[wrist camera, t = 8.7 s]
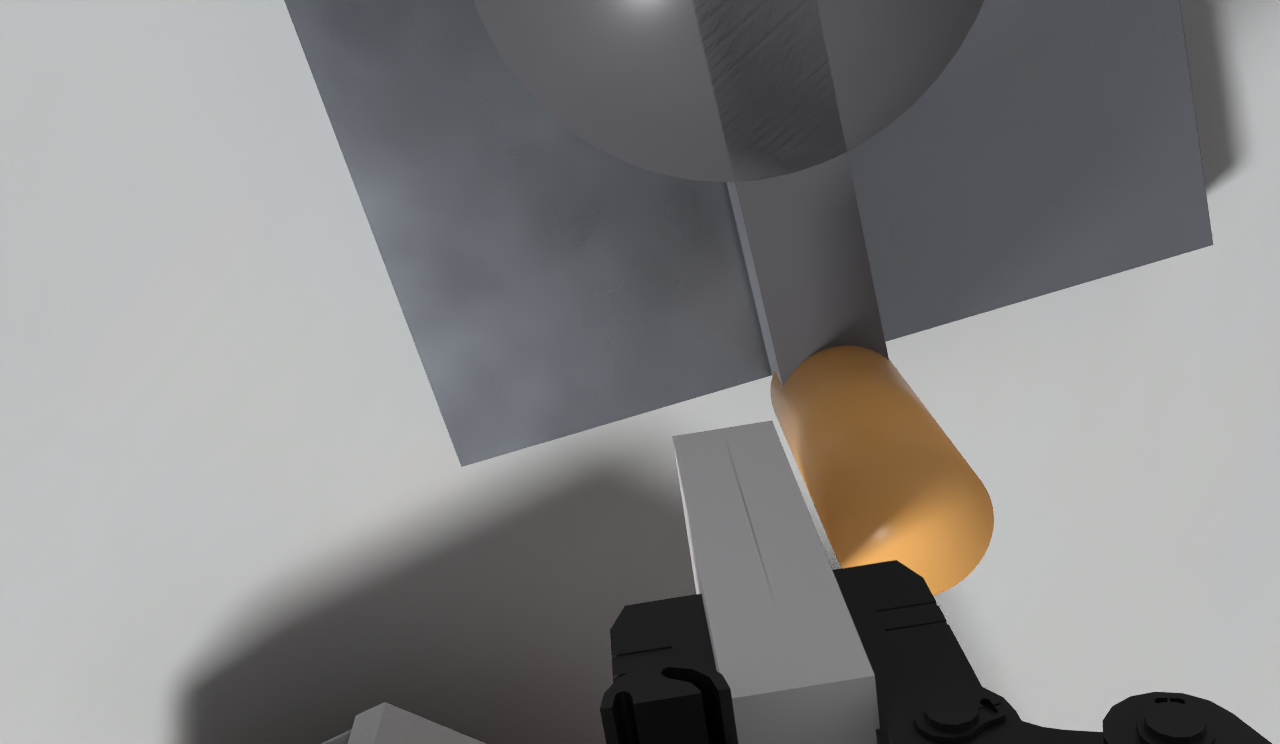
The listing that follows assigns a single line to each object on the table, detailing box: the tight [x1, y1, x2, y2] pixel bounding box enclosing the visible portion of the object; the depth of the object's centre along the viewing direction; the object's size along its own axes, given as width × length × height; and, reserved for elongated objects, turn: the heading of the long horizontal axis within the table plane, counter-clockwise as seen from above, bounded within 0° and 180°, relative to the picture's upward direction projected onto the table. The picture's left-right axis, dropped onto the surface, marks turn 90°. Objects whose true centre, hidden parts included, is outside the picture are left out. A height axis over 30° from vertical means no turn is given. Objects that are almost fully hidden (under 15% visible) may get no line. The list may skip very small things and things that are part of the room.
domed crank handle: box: [473, 0, 994, 595], centre depth 19 cm, size 15×9×7 cm, turn 15°
